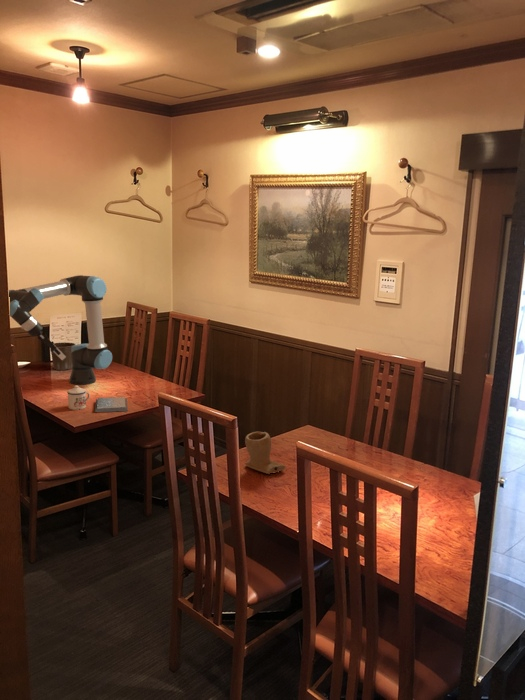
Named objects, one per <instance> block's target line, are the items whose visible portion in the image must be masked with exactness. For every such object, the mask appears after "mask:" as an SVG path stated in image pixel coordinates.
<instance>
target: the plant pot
mask: <svg viewBox="0 0 525 700" xmlns="http://www.w3.org/2000/svg"><path fill="white" fill-rule="evenodd" d="M53 344H54V345H55V346H56V347H57V348H58V349H59V350H60V351H61V352H62V353H63V354H64V355H65V356H66V357H65V358H64V359H63V360H61V359H60V358H59V357H58V356H57V355H56V354H55V353H54V352H51V349H50V348H49V349H50V353H51V359H52V366H53V369H54V370H55V369H56V371H66V370H72V357H71V348H72V346H73V345H76V343H74V342H65V341H64V342H54V343H53Z"/></svg>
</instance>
